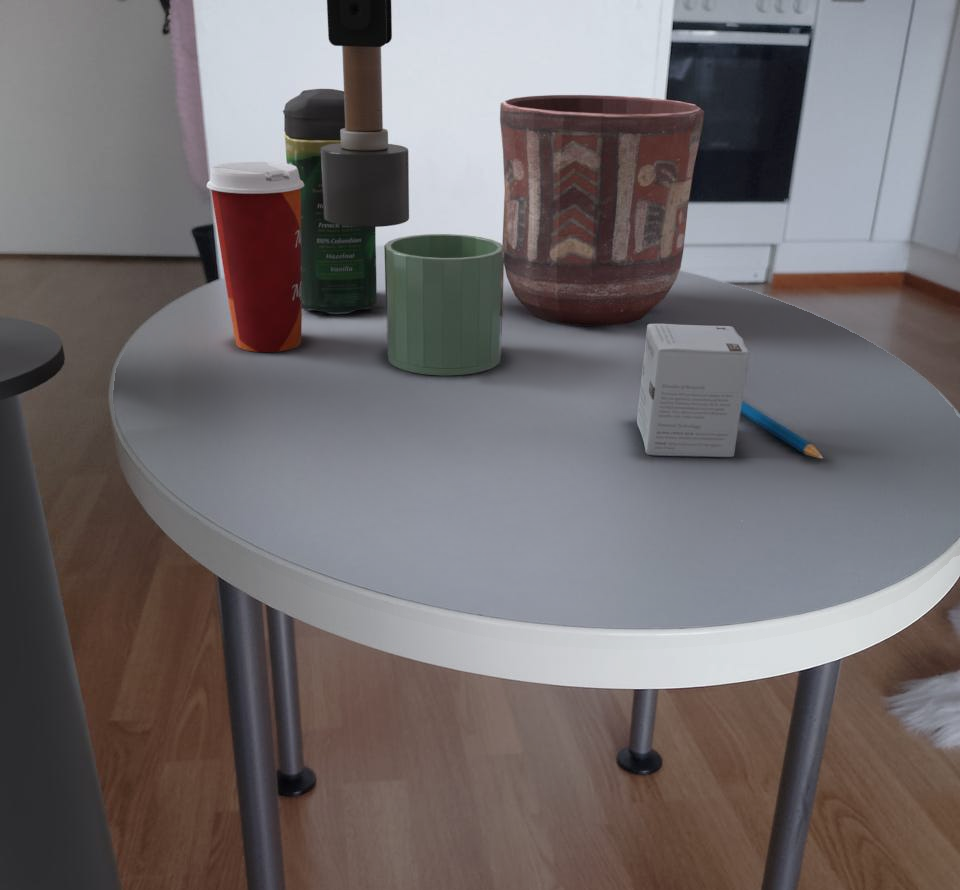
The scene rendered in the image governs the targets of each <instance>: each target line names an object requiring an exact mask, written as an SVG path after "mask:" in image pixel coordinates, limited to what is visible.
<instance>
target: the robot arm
mask: <svg viewBox="0 0 960 890" xmlns="http://www.w3.org/2000/svg"><path fill="white" fill-rule="evenodd" d="M326 9H327V10H326V14H327V33H328V34H327V35H328V36H327V37H328V42H329V43H330V44H331V45H332V46H334V47H342V46H360V47H381V48H382V47H384V46H385V45H387V44H389V43H390V42H391V41H392V37H393V24H392V22H393V21H392V19H393V17H392V0H326Z"/></svg>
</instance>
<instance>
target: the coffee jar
mask: <svg viewBox="0 0 960 890" xmlns="http://www.w3.org/2000/svg"><path fill="white" fill-rule="evenodd" d="M282 112H283V116H284V119H283V121H284V126H283V127H284V129H283V131H284V141H285V143H284V145H285V159H286V164H290V165H294V166H296V167H297V169H298V172H299V177H300V180H302V181H303V183H304V187H302V188H300V190H301V287H302V310H303V309H304V310H305V311H318V312H326V314H329V315H347V314H350V313H353V312H355V311H361V310H369V309H372V308H373V307H374V306H375V304H376V302H377V297H378V296H377V244H376V239H377V237H376V230H377V229H376V228H377V227H354V226H344V225H338V224H333V223H330V222H328V221H326V220H325V219H324V205H323V185H322V165H321V148H322V147H323V146H326V145H330V144H337V143H341V135H340V130H341V129H343V128H345V106H344V90H339V89H333V88H314V89H313V88H312V89H306V90H302V91H301V92H300V93H299V94H298V95H297V96H295V97H292V98H291V99H289V100H288V101H287V102H286V103H285V105H284V110H282Z"/></svg>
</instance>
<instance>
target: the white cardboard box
mask: <svg viewBox="0 0 960 890" xmlns="http://www.w3.org/2000/svg"><path fill="white" fill-rule="evenodd" d="M750 355H751V353H750V351H749V349H748V348H747V346H746V344H745V342H744V339H743V337H742V336H741V335H740V334H739V333H738V332H737V330H736V329H735V328H734V326H731V325H697V324H694V325H693V324H677V323H676V324H675V323H648V324H647V326H646V335H645V346H644V353H643V360H642V361H643V362H642V371H641V380H640V388H639V397H638V407H637V417H636V424H637V427H638V429H639V432H640V435H641V438H642V441H643V445H644V451H645V454H647V455H649V456H657V457H658V456H660V457H700V458H701V457H703V458H705V457H706V458H712V457H713V458H733V457H734V456H735V453H736V444H737V438H738V432H739V425H740V420H741V419H740V418H741V413H740V412H741V406H742V401H744V400H743V399H744V393H745V387H746V381H747V373H748V367H749V360H750Z"/></svg>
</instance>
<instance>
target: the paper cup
mask: <svg viewBox="0 0 960 890" xmlns="http://www.w3.org/2000/svg"><path fill="white" fill-rule="evenodd" d="M209 173H210V174H209V175H210V177H209V180H208V181H207V183H206V188H207V189H209V190H210V191H211V197H212V204H213V210H214V217H215V223H216V230H217V231H216V232H217V237H218V243H219V249H220V255H221V260H222V261H221V262H222V268H223V275H224V281H225V288H226V293H227V299H228V306H229V313H230V319H231V324H232V330H233V335H234V340H235V344H236V346H237V348H239V349H241V350H243V351H247V352H252V353H253V352H254V353H279V352H285V351H289V350H293V349H295V348H297V347H299V346H300V345H301V343H302V331H303V330H302V329H303V327H302V325H303V324H302V323H303V322H302V321H303V319H302V318H303V313H302V312H303V311H302V310H303V308H302V287H301V190H300V188H302V187H304V183H303V181H302V180H300V177H299V172H298V169H297V167H296V166H294V165H290V164H287V163H283V162H273V161H238V162H228V163H221V164H217V165H214V166H212V167H211V168H210V172H209Z"/></svg>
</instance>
